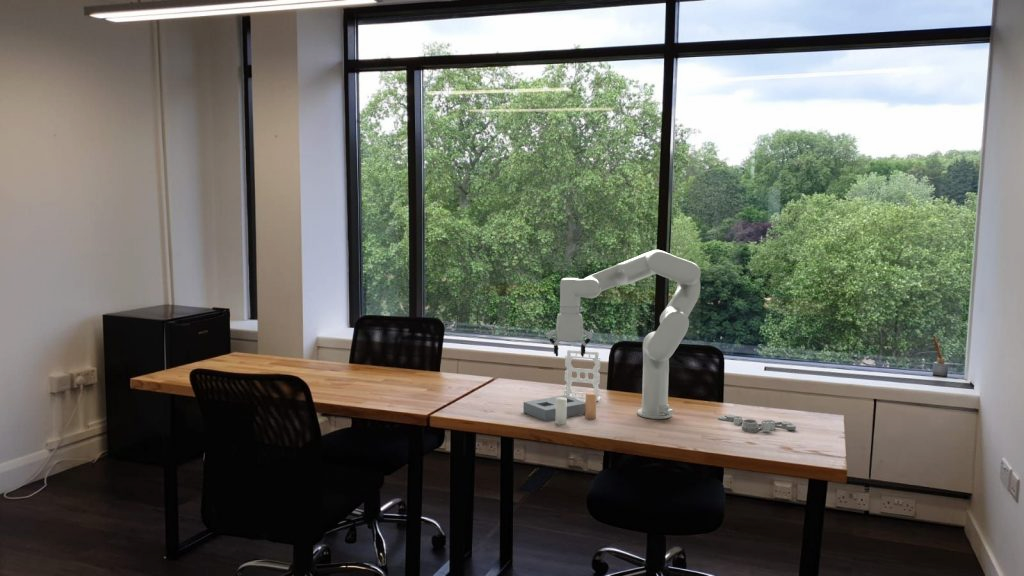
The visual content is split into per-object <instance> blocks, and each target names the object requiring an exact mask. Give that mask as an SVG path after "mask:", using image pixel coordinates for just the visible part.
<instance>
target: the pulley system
mask: <svg viewBox="0 0 1024 576" xmlns="http://www.w3.org/2000/svg"><path fill="white" fill-rule="evenodd" d="M717 419H718V420H719V421H724V422H730V423H733V424H734V425H736V426H740V425H741V430H742V431H744V432H748V433H749V432H750V433H758V432H761V431H767V432H769V431H774V430H775V429H776V428H777V429H781V430H783V429H784V430H789V431H795V430H797V427H796V425H795V424H793V423H792V422H791V421H785V420H783V421H778V422H776V421H774V420H772V419H771V420H770V419H768V420H761V423H758V421H757V420H756V419H753V418H752V419H747V418H746V419H743V417H742V416H737V415H736V416H735V415H734V414H727V415H719V416H718V417H717Z"/></svg>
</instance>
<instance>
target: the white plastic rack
mask: <svg viewBox="0 0 1024 576" xmlns="http://www.w3.org/2000/svg"><path fill="white" fill-rule="evenodd" d="M572 354H575V355H574V356H573V355H572ZM599 354H600V353H599V352H598V351H597V352H596V351H586V350H585V354H584V356H578V355H581V350H571V349H569V350H567V351H566V355H565V356H564V357H565V358H564V359H565V360H564V367H566V370H564V382H566V384H564V395H565V396H568V397H571V398H574V399H578V400H584V402H585V400H586V396H584V395H586V393H587V392H580V391H573V390H572V384H573V382H574V383H584V384H585V383H586V384H592V386H593V388H594V389H593V391H591V393H596V394H597V395H596V401H597V402H600V401H601V399H602V398H601V396H600V387H599V385H600V381H601V379H600V377H601V373H600V372H599V370H601V358H600V357H599ZM585 355H588V357H587V356H585ZM591 355H594V357H591ZM574 358H575V359H586V360H587V359H588V360H592V361H593V363H594V366H593V367H592V368H578V367H577V368H576V367H574V366H573V365H572V361H573V359H574ZM572 372H573V373H574V372H575V373H576V377H573V376H572ZM581 373H583V374H584V378H581V376H580V375H581ZM589 374H592V375H593V377H592V379H591V378H590V379H589ZM564 395H563V396H564ZM577 395H580V396H577Z"/></svg>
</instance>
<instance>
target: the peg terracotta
mask: <svg viewBox="0 0 1024 576" xmlns="http://www.w3.org/2000/svg"><path fill="white" fill-rule="evenodd" d="M585 393H586V394H585V397H586V400H585V414H584V418H585V419H587V418H589V419H588V420H595V419H597V402H596V395H597V394H596V393H592V391H591V392H585ZM594 418H595V419H594Z"/></svg>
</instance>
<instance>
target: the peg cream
mask: <svg viewBox="0 0 1024 576" xmlns="http://www.w3.org/2000/svg"><path fill="white" fill-rule="evenodd" d="M557 397H558V396H557ZM567 418H568V417H567V398H564V397H558V398H556V412H555V419H554V422H555V423H554V424H555V425H559V426H562V425H563V426H564V425H566V424H567Z"/></svg>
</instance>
